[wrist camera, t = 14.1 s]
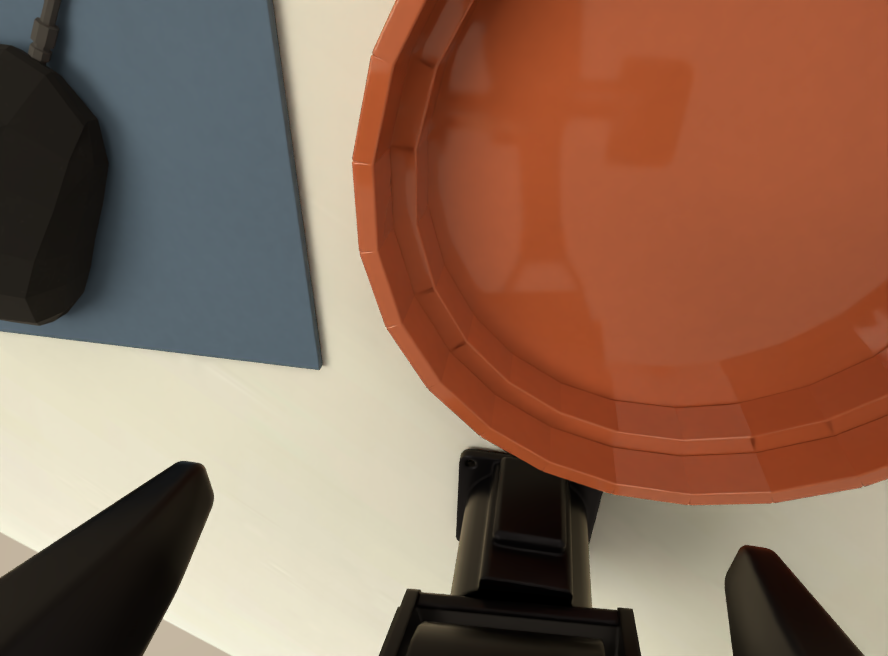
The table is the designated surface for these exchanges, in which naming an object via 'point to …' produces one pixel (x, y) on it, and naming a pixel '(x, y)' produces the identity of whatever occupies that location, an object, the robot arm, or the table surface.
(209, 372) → the table surface
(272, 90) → the mouse pad
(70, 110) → the gaming mouse
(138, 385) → the table surface
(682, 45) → the bowl
